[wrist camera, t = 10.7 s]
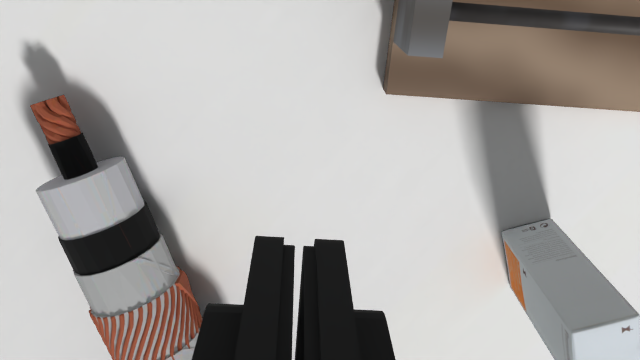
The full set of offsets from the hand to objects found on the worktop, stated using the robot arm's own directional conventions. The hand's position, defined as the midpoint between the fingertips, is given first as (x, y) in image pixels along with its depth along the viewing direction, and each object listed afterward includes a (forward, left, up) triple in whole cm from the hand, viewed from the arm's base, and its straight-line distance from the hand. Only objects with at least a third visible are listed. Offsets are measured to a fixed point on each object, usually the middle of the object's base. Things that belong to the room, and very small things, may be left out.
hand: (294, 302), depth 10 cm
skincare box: (+15, +20, -27) cm, 37 cm away
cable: (+20, -10, -28) cm, 35 cm away
